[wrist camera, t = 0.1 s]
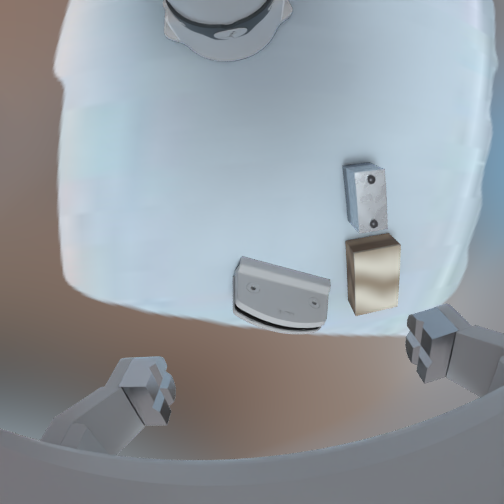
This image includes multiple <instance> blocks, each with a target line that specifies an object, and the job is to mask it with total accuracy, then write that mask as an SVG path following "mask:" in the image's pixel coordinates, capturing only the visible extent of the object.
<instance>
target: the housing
mask: <svg viewBox="0 0 504 504" xmlns="http://www.w3.org/2000/svg"><path fill="white" fill-rule="evenodd" d="M343 175H344V184H345V194H346V204H347V216H348V221H349V222H350V223H351V225H352V226H353V227H354V228H355V229H356V230H357V232H358V233H359V234H360V233H366V232H372V231H378V230H383V229H388V228H387V198H386V181H385V169H383V168H381V167H379V166H377V165H375V164H372V163H370V162H369V163H360V164H352V165H345V166H343Z"/></svg>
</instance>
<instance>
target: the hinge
mask: <svg viewBox="0 0 504 504" xmlns="http://www.w3.org/2000/svg"><path fill="white" fill-rule="evenodd" d="M330 287H331V285H330V279H326V278H322V277H318V276H315V275H311V274H307V273H303V272H299V271H296V270H292V269H288V268H284V267H281V266H277V265H273V264H270V263H266V262H262V261H258V260H255V259H251V258H247V257H243V256H242V257H241V259H240V265H239V266H238V267H237V269H236V270H235V276H233V313H234V314H235V315H236V316H238V317H239V318H241V319H243V320H245V321H247V322H249V323H251V324H253V325H256V326H258V327H261V328H264V329H267V330H270V331H275V332H280V333H287V334H309V333H314V332H316V331H318V330H319V329H320V328H321V326H323V325H324V323H325V321H326V319H327V309H328V296H329V291H330Z"/></svg>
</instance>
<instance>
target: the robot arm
mask: <svg viewBox="0 0 504 504" xmlns="http://www.w3.org/2000/svg"><path fill="white" fill-rule="evenodd" d="M163 7H164V9H165V23H164V34H165V36H166V37H167V38H168V39H170V40H172V41H176V42H180V43H183V44H185V45H186V46H187V47H189V48H190V49H191V50H192V51H194V52H195V53H196V54H198V55H200V56H202V57H204V58H207V59H210V60H215V61H237V60H241V59H245V58H247V57H250V56H252V55H254V54H256V53H257V52H259V51H260V50H262V49H263V48H264V47H265V46H266V45H267V44H268V43H269V42H270V41H271V39H272V38H273V36H274V34H275V32H276V30H277V28H278V26H279V25H280V24H281V23H283V22H284V21H285V20H287V19H288V18H289V17H290V16H291V14H292V7H291V5H290V3H289V1H288V0H163ZM407 327H408V328H409V329H410V332H409V333H408V335H407V336H406V344H405V345H406V352H407V355H408V358H409V360H410V361H411V363H413V364H415V365H417V373H418V374H419V376H420V378H421V379H422V381H423V382H424V383H428V382H432V381H434V380H438V379H441V378H444V377H446V378H448V379H449V380H451V381H453V382H454V383H456V384H458V385H460V386H462V387H463V388H465V389H467V390H469V391H470V392H472V393H474V394H476V395H477V396H479V397H480V398H478V399H476V400H474V401H472V402H469V403H467V404H465V405H463V406H460V407H458V408H456V409H453V410H451V411H449V412H446V413H444V414H441V415H439V416H436V417H433V418H431V419H428V420H425V421H423V422H420V423H417V424H414V425H411V426H408V427H405V428H402V429H399V430H395V431H392V432H389V433H385V434H382V435H379V436H375V437H371V438H367V439H363V440H359V441H355V442H351V443H347V444H342V445H338V446H333V447H328V448H323V449H317V450H311V451H305V452H299V453H292V454H285V455H278V456H268V457H259V458H245V459H228V460H165V459H150V458H138V457H128V456H119V455H117V454H118V453H119V452H120V451H121V450H122V449H123V448H124V447H125V446H126V445H127V444H128V443H129V442H130V441H131V440H132V439H133V438H134V437H135V436H136V435H137V434H138V433H139V432H140V431H141V430H142V429H143V428H144V427H145V426H144V425H167V424H168V421H169V417H170V414H171V410H170V408H169V406H170V405H171V404H172V403H173V402H174V400H175V395H176V387H175V383H174V380H173V378H172V376H171V375H170V374H169V373H167V372H166V368H167V364H166V362H165V360H164V358H162V357H137V358H123V359H120V361H119V362H118V364H117V366H116V368H115V369H114V371H113V373H112V375H111V376H110V378H109V380H108V382H107V384H106V385H105V387H100V388H99V389H97V390H96V391H94V392H93V393H91V394H90V395H88V396H87V397H86V398H84V399H83V400H81V401H79V402H78V403H76V404H75V405H73V406H72V407H70V408H69V409H67V410H66V411H64V412H62V413H61V414H60V415H58V416H56V417H55V418H53V420H52V421H51V423H50V425H49V426H48V428H47V430H46V431H45V433H44V435H43V436H42V438H41V440H36V439H33V438H29V437H26V436H23V435H19V434H16V433H13V432H10V431H7V430H3V429H1V428H0V504H504V333H501V332H497V331H494V330H490V329H487V328H484V327H480V326H477V325H474V326H471V325H470V324H469V323H468V322H467V321H466V320H465V319H464V318H463V317H462V316H461V315H460V314H459V313H458V312H457V311H456V310H455V309H454V308H453V307H452V306H451V305H450V304H447V303H446V304H443V305H440V306H437V307H434V308H432V309H429V310H425V311H422V312H418V313H415V314H411V315H409V317H408V319H407Z"/></svg>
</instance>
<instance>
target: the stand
mask: <svg viewBox="0 0 504 504" xmlns="http://www.w3.org/2000/svg"><path fill="white" fill-rule="evenodd" d="M345 243H346V259H347V280H348V301H349V303H350V305H351V307H352V309H353V311H354V314H355V316H358V315H362V314H367V313H371V312H376V311H380V310H384V309H389V308H393V307H397V305H398V292H399V276H400V250H401V245H400V244H399V243H398V242H397V241H396V240H395V239H394V238H393V237H392V236H391V235H390V234H389V233H386V234H381V235H375V236H369V237H364V238H358V239H353V240H347V241H345Z"/></svg>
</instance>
